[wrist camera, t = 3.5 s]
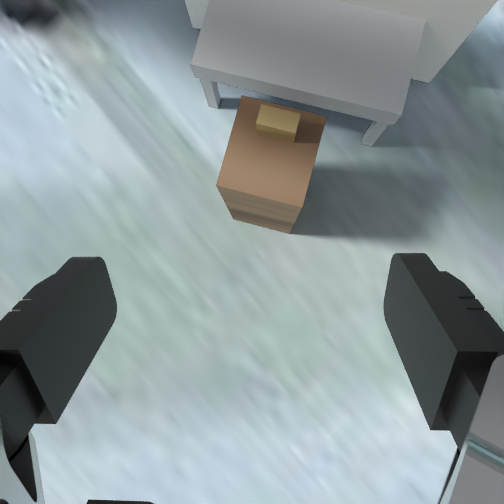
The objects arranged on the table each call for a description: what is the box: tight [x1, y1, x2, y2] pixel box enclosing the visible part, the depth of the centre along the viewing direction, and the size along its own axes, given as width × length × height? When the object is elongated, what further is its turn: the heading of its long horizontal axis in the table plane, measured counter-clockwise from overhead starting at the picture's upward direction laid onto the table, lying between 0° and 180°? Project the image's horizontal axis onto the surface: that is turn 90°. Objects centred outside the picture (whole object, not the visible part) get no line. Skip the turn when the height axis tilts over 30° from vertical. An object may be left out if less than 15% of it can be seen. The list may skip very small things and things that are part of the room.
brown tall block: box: [216, 96, 327, 234], centre depth 23 cm, size 5×5×11 cm
